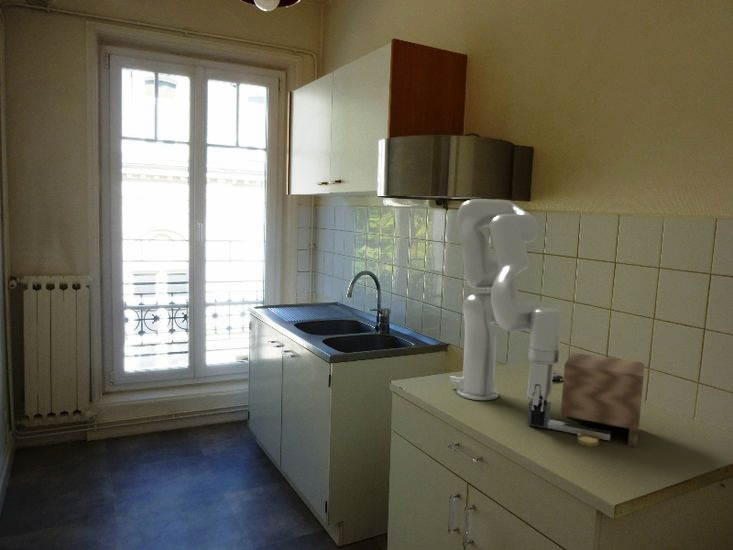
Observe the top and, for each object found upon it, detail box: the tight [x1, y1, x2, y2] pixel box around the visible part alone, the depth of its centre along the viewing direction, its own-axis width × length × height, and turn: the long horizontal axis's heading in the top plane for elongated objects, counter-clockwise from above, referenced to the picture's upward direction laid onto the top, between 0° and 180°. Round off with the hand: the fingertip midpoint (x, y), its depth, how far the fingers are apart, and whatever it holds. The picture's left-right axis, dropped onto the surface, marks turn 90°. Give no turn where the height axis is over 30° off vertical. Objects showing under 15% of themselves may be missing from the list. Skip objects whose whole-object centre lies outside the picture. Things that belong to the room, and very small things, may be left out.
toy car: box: [553, 371, 564, 381], centre depth 184 cm, size 4×12×8 cm, turn 109°
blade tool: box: [526, 398, 612, 442], centre depth 140 cm, size 20×4×6 cm, turn 62°
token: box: [576, 431, 600, 447], centre depth 134 cm, size 5×5×2 cm
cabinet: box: [560, 352, 646, 449], centre depth 141 cm, size 18×14×18 cm
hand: (538, 421), depth 143 cm, fingers closed on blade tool, 3 cm apart
